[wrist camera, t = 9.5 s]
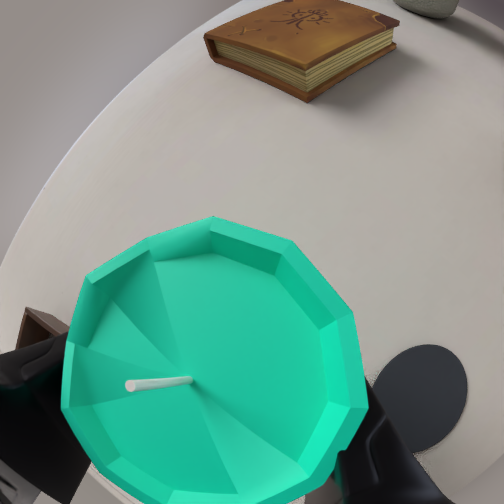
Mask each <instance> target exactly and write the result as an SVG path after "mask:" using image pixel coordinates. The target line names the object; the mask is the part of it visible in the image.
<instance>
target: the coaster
mask: <svg viewBox="0 0 504 504" xmlns="http://www.w3.org/2000/svg"><path fill="white" fill-rule="evenodd" d="M372 389H373V391H374V393H375V394H376V396H377V398H378V399H379V401H380V403H381V404H382V406H383V408H384V409H385V411H386V413H387V415H388V416H387V417H389V418H390V420H391V421H392V423H393V425H394V426H395V428H396V430H397V431H398V433H399V435H400V436H401V438H402V439H403V441H404V443H405V444H406V445H407V447H408V448H409V450H410V451H411V452H412V453H415V452H419V451H422V450H425V449H427V448H430V447H431V446H433V445H435V444H436V443H438V442H439V441H441V440H442V439H443V438H444V437H445V436H446V435H447V434H448V433H449V432H450V431H451V430H452V428H453V427H454V426H455V424H456V423H457V421H458V419H459V418H460V415H461V413H462V411H463V408H464V405H465V401H466V396H467V378H466V374H465V371H464V368H463V366H462V364H461V362H460V360H459V359H458V358H457V357H456V356H455V355H454V354H453V353H452V352H451V351H449V350H448V349H446V348H444V347H441V346H438V345H430V344H429V345H420V346H415V347H412V348H409V349H407V350H405V351H403V352H402V353H400V354H399V355H397V356H396V357H395V358H393V359H392V360H391V361H390V362H389V363H388V364H387V365H386V366H385V367H384V369H383V370H382V371H381V373H380V374H379V376H378V377H377V379H376V381H375V383H374V385H373V388H372Z"/></svg>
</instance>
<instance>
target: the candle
mask: <svg viewBox="0 0 504 504" xmlns="http://www.w3.org/2000/svg"><path fill="white" fill-rule="evenodd" d="M368 409H369V406H368V398H367V391H366V383H365V377H364V370H363V364H362V358H361V352H360V346H359V341H358V336H357V330H356V325H355V320H354V315H353V312H352V311H351V309H350V308H349V307H348V306H347V304H346V303H345V302H344V301H343V300H342V298H341V297H340V296H339V295H338V294H337V292H336V291H335V290H334V289H333V288H332V287H331V285H330V284H329V283H328V282H327V281H326V279H325V278H324V277H323V276H322V275H321V274H320V272H319V271H318V270H317V269H316V268H315V266H314V265H313V264H312V263H311V262H310V261H309V259H308V258H307V257H306V256H305V255H304V254H303V253H302V251H301V250H300V249H299V248H298V247H297V246H296V245H295V243H294V242H293V241H291V240H288V239H285V238H282V237H279V236H276V235H273V234H269V233H266V232H263V231H260V230H257V229H253V228H250V227H247V226H244V225H240V224H237V223H234V222H231V221H227V220H224V219H221V218H218V217H214V216H212V217H209V218H205V219H202V220H199V221H196V222H193V223H190V224H186V225H183V226H180V227H177V228H174V229H171V230H168V231H165V232H162V233H159V234H156V235H153V236H150V237H147V238H145V239H144V240H142V241H140V242H139V243H137V244H135V245H134V246H132V247H130V248H129V249H127V250H125V251H124V252H122V253H120V254H119V255H117V256H116V257H114V258H112V259H111V260H109V261H108V262H106V263H104V264H103V265H101V266H100V267H98V268H97V269H95V270H93V271H92V272H90V273H89V274H87V275H86V276H85V279H84V282H83V285H82V288H81V291H80V294H79V297H78V301H77V304H76V307H75V311H74V314H73V318H72V321H71V325H70V328H69V332H68V336H67V340H66V347H65V356H64V365H63V376H62V390H61V411H62V413H63V414H64V416H65V418H66V420H67V422H68V424H69V425H70V427H71V429H72V431H73V432H74V434H75V436H76V438H77V439H78V441H79V442H80V444H81V446H82V447H83V449H84V450H85V452H86V454H87V455H88V457H89V458H90V460H91V461H92V463H93V464H94V465H95V467H96V468H97V470H98V471H99V473H101V474H102V475H103V476H104V477H106V478H107V479H108V480H110V481H111V482H113V483H114V484H115V485H117V486H118V487H120V488H121V489H122V490H124V491H125V492H127V493H128V494H130V495H131V496H133V497H134V498H136V499H138V500H139V501H141V502H142V503H144V504H287V503H289V502H291V501H293V500H295V499H297V498H300V497H302V496H303V495H305V494H307V493H309V492H311V491H313V490H315V489H317V488H319V487H320V486H322V485H323V484H324V483H325V481H326V480H327V479H328V477H329V476H330V474H331V473H332V471H333V470H334V467H335V463H336V458H337V454H338V452H339V451H341V450H346V449H347V447H348V445H349V444H350V442H351V440H352V438H353V437H354V435H355V433H356V431H357V429H358V428H359V426H360V424H361V422H362V420H363V418H364V416H365V414H366V412H367V411H368Z"/></svg>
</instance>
